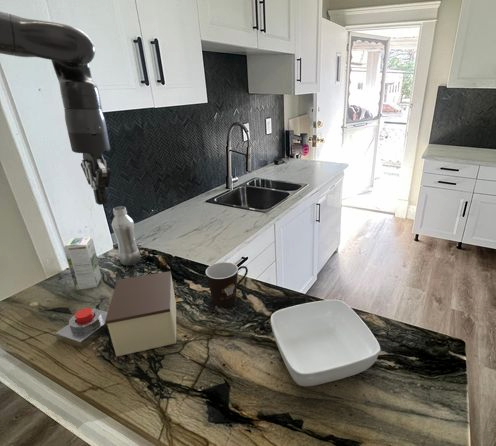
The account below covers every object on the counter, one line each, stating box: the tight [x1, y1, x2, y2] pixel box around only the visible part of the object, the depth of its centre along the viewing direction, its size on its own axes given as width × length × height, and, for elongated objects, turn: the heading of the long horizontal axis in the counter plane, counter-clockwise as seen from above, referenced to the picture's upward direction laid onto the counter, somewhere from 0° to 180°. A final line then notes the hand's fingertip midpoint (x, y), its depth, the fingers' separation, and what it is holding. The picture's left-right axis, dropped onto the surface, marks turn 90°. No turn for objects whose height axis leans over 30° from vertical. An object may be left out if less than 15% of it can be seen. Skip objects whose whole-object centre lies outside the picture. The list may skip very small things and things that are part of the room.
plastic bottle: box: [111, 205, 141, 266], centre depth 103 cm, size 6×7×20 cm
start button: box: [74, 307, 94, 324], centre depth 76 cm, size 4×4×2 cm
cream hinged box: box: [107, 275, 177, 357], centre depth 77 cm, size 16×13×10 cm
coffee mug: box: [205, 261, 249, 308], centre depth 88 cm, size 12×9×10 cm
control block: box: [54, 307, 109, 350], centre depth 77 cm, size 10×8×4 cm
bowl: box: [270, 299, 381, 387], centre depth 70 cm, size 20×20×8 cm
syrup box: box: [63, 236, 103, 291], centre depth 93 cm, size 6×6×14 cm
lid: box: [105, 270, 172, 324], centre depth 74 cm, size 16×13×1 cm
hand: (102, 203), depth 77 cm, fingers closed
